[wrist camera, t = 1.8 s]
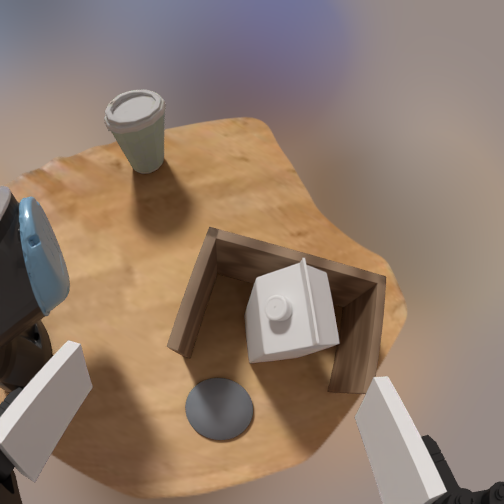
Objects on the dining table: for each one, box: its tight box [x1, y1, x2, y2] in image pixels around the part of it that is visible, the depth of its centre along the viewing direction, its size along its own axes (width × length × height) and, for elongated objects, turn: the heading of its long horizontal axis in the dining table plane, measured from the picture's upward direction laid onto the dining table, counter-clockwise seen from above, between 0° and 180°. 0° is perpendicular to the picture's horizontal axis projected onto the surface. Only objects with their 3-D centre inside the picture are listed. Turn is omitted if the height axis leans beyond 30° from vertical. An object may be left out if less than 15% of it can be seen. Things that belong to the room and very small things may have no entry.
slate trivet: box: [185, 378, 253, 440], centre depth 33 cm, size 9×9×1 cm
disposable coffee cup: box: [104, 90, 166, 174], centre depth 43 cm, size 11×11×15 cm
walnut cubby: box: [167, 227, 386, 394], centre depth 34 cm, size 22×14×11 cm, turn 75°
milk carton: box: [244, 258, 339, 363], centre depth 30 cm, size 7×7×19 cm
